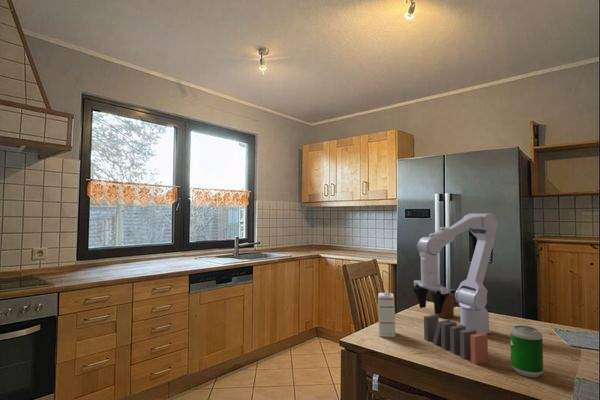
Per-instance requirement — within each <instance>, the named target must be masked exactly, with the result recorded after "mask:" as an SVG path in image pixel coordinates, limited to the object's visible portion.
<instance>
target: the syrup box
mask: <svg viewBox="0 0 600 400" xmlns="http://www.w3.org/2000/svg"><path fill="white" fill-rule="evenodd" d="M377 302H378V303H377V304H378V306H377V307H378V310H377V311H378V331H379V332H378V333H379V337H382V338H383V337H384V338H396V309H395V297H394V293H392V292H378V294H377Z"/></svg>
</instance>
